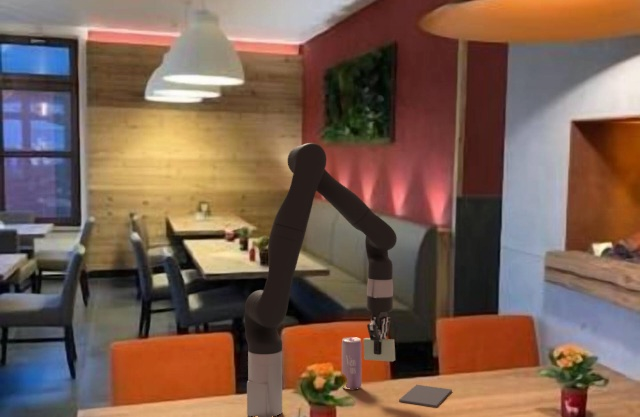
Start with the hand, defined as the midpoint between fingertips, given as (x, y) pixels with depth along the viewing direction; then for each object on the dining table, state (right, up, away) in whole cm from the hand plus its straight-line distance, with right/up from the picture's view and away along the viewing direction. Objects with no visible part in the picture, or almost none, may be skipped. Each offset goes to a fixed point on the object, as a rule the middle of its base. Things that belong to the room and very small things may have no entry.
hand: (378, 353), depth 194 cm
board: (0, -2, 0) cm, 2 cm away
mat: (+14, -13, +2) cm, 19 cm away
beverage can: (-7, -13, +10) cm, 18 cm away
